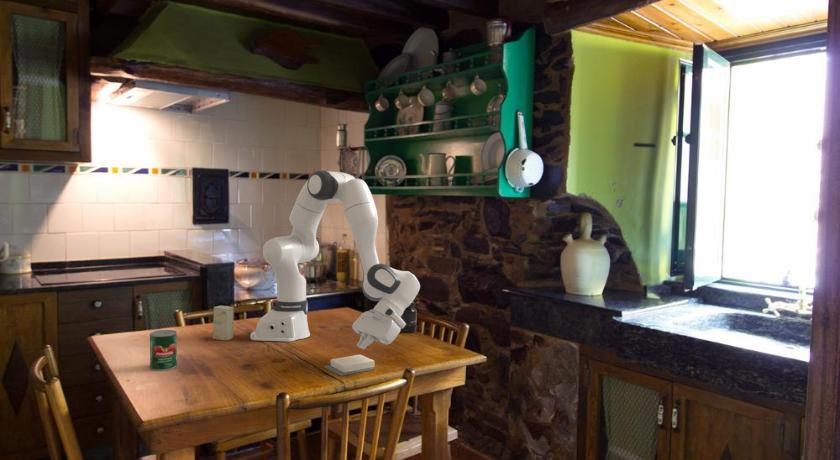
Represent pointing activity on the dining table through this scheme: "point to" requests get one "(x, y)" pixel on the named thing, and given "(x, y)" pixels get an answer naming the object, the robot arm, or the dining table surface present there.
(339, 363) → the tile
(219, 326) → the skincare box
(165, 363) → the canned tomato
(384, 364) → the dining table surface
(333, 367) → the mat
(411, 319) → the supplement bottle
